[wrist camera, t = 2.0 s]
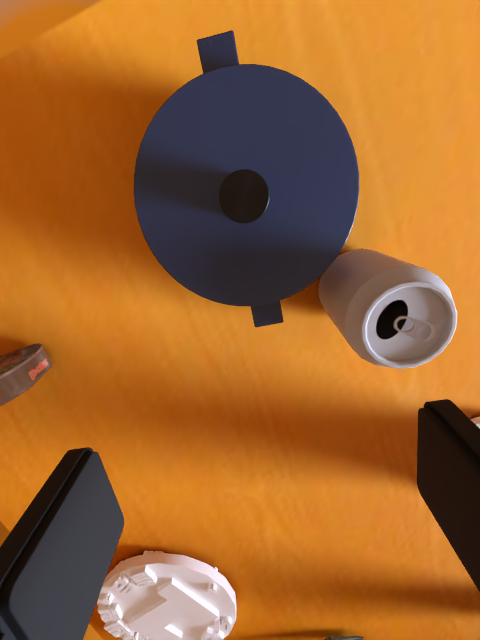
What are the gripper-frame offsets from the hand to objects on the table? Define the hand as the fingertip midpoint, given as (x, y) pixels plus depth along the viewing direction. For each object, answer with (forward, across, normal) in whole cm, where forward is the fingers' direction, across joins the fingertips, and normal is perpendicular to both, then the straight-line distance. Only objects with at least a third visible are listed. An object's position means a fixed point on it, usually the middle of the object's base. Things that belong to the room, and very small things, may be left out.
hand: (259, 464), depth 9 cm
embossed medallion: (+24, +19, +46) cm, 55 cm away
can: (+25, -10, +3) cm, 27 cm away
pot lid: (+17, -1, -7) cm, 19 cm away
